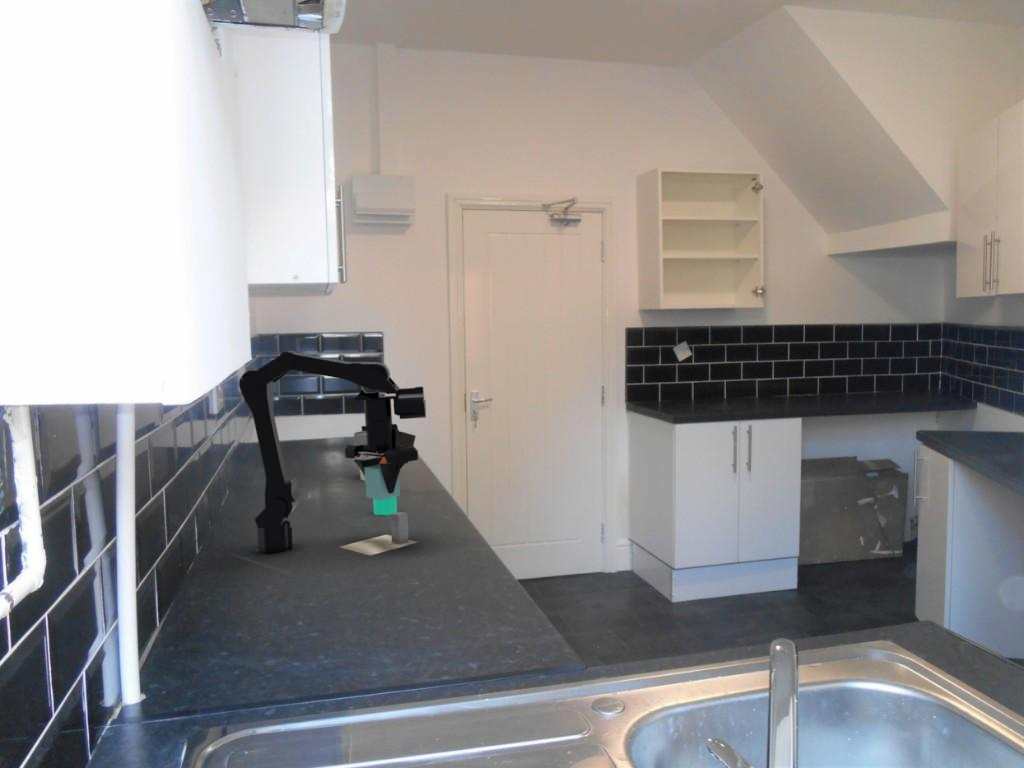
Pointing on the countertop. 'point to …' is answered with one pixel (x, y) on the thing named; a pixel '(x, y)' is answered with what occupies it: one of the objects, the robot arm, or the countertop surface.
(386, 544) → the board
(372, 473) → the teal rectangular block
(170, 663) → the countertop surface
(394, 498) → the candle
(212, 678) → the countertop surface
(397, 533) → the post
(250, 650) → the countertop surface
